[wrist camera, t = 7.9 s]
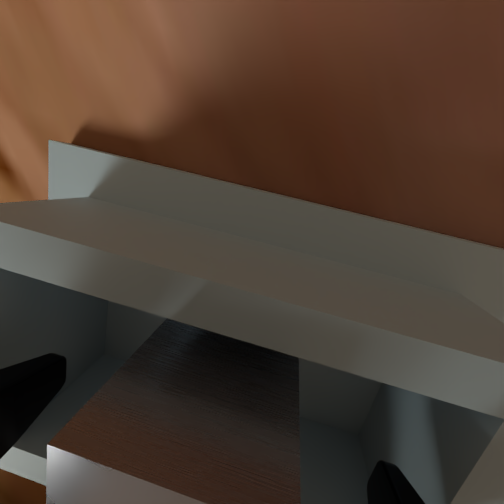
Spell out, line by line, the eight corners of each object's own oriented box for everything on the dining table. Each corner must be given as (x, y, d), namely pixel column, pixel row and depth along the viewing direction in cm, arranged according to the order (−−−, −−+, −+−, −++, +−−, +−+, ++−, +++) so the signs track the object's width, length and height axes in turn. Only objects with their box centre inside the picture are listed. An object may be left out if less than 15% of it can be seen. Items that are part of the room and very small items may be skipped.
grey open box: (63, 371, 15) (-67, 478, 9) (69, 143, 11) (-130, 109, 6) (394, 482, 13) (461, 686, 8) (519, 252, 10) (790, 337, 4)
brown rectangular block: (186, 362, 12) (44, 592, 5) (201, 281, 11) (47, 444, 4) (272, 389, 12) (239, 675, 5) (298, 309, 10) (300, 538, 4)
